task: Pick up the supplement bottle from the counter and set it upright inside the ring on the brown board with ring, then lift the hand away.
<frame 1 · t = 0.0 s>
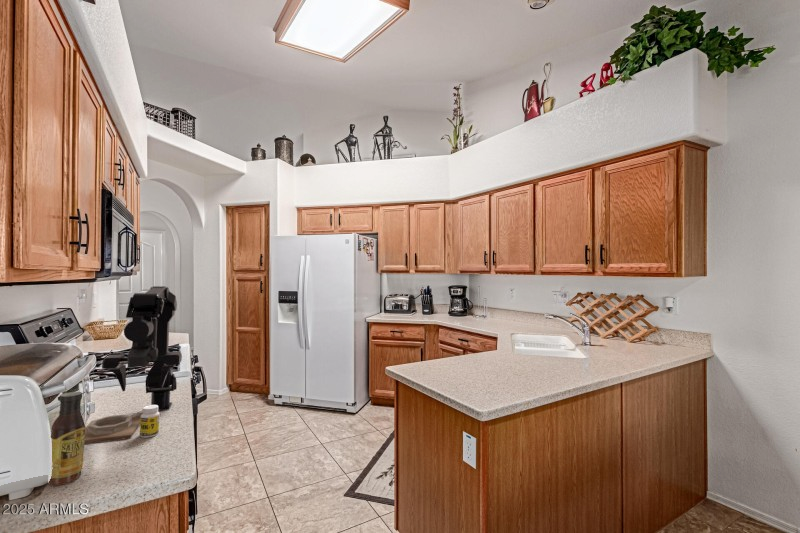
hand: (142, 389, 111), 15 cm above the counter, fingers open, 9 cm apart
sauce bottle: (65, 480, 89), on the counter
brown board with ring: (110, 430, 116), on the counter
supplement bottle: (149, 435, 114), on the counter
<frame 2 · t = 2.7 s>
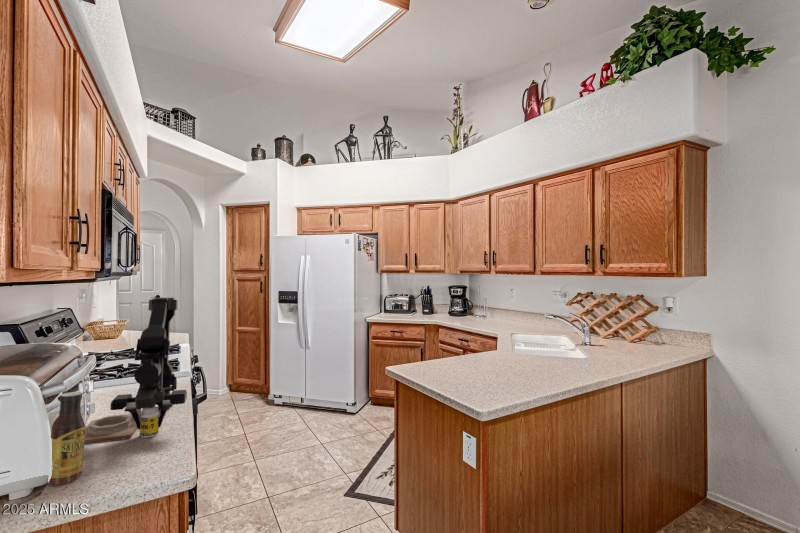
hand: (149, 428, 114), 2 cm above the counter, fingers closed on supplement bottle, 5 cm apart
supplement bottle: (149, 435, 114), on the counter, touching gripper
everything else where it was.
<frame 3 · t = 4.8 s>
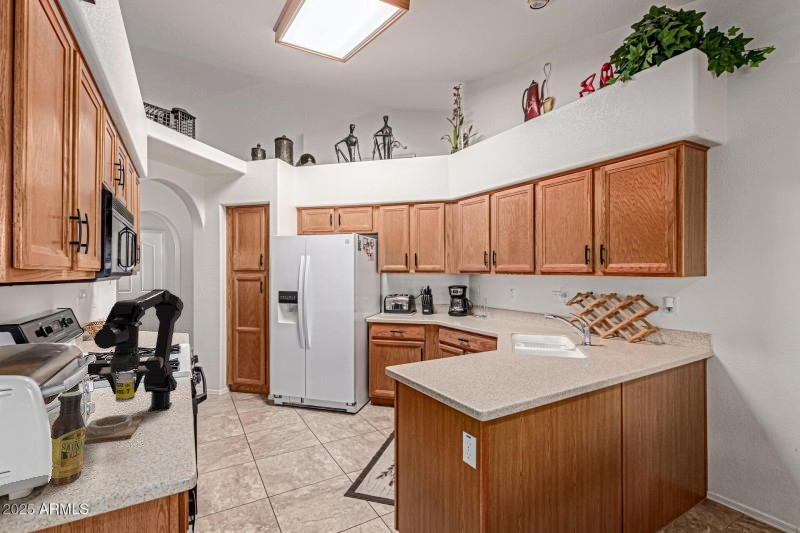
hand: (125, 393, 116), 12 cm above the counter, fingers closed on supplement bottle, 5 cm apart
supplement bottle: (125, 400, 116), point 9 cm above the counter, touching gripper
everything else where it was.
when the fingers open (4 cm above the counter, at t = 7.3 s): supplement bottle drops 1 cm, resting on brown board with ring.
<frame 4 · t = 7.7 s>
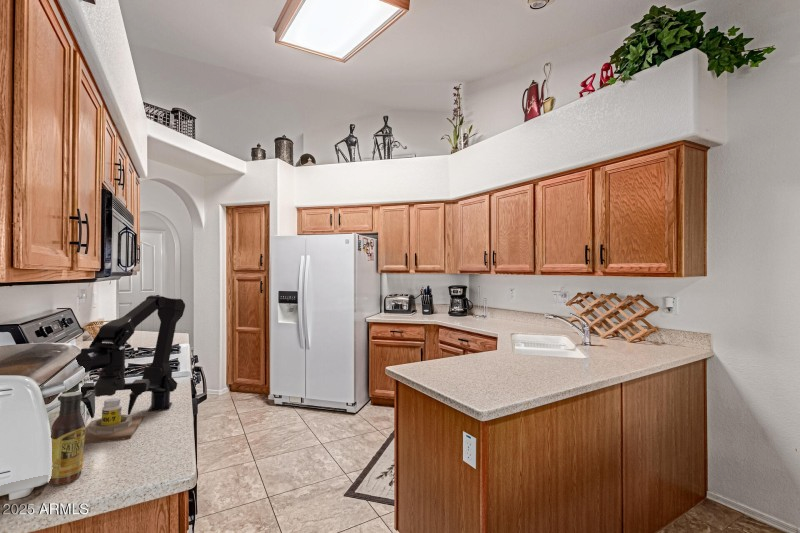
hand: (111, 416, 116), 4 cm above the counter, fingers open, 9 cm apart
supplement bottle: (110, 428, 116), point 1 cm above the counter, touching brown board with ring
everything else where it was.
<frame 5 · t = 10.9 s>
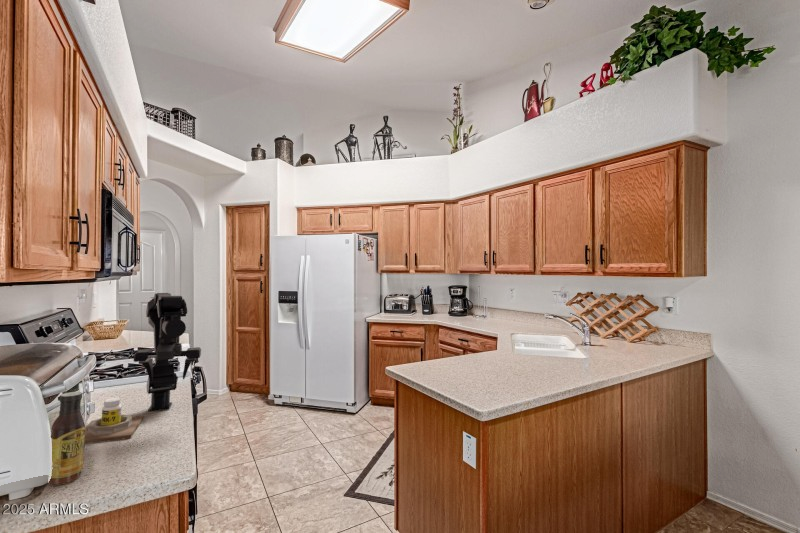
hand: (167, 380, 126), 13 cm above the counter, fingers open, 9 cm apart
nothing on the counter moved.
at the end: supplement bottle 0.1 cm off-centre on the brown board with ring, point 0.8 cm above the brown board with ring's base; supplement bottle tilted 0°; the gripper is holding nothing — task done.
